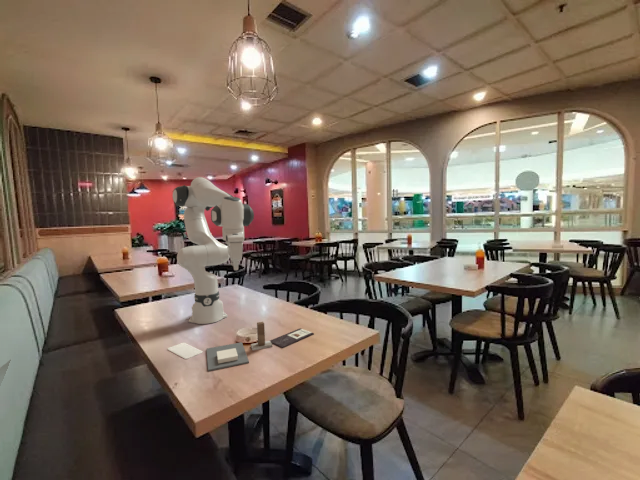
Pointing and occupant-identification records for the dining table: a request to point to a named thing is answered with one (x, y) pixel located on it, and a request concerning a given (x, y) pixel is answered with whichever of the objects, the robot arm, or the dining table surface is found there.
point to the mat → (214, 364)
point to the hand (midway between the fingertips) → (234, 267)
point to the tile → (227, 355)
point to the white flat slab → (185, 350)
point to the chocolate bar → (291, 338)
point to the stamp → (261, 338)
